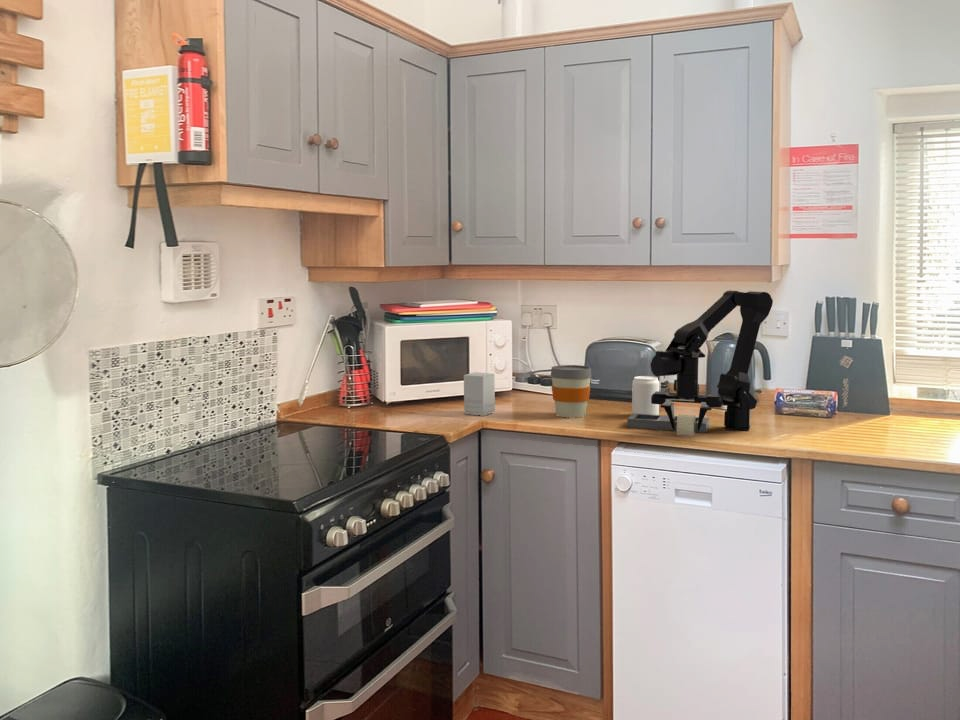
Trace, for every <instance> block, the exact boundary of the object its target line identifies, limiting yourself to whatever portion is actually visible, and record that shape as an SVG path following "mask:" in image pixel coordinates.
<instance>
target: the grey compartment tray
mask: <svg viewBox="0 0 960 720" xmlns="http://www.w3.org/2000/svg"><path fill="white" fill-rule="evenodd" d="M677 417H678V415H674V418H675V429H674V430H673V428H672V425H671V423H670V420H669V417H668V415H667V414H666V415H665V414H659V415H651V414H634V413H633V414H632V413H631V415H630V416H629V417H628V418H627V419H626V427H627V428H628V429H629V428H631V429H633V428H634V429H644V428H645V430H647V429H648V430H660V429H663V430H664V431H676V432H677ZM698 419H699V416H696V423H695V433H707V431H708V429H709V427H710V417H704V419H703V422H702V424H701V427H700V430H699V431H698ZM663 430H662V431H663Z"/></svg>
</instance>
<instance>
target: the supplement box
mask: <svg viewBox="0 0 960 720" xmlns="http://www.w3.org/2000/svg"><path fill="white" fill-rule="evenodd" d="M495 385H496V384H495V373H489V372H471V373H468V374H467V373H466V374H464V375H463V409H464V410H463V411H464V415H468V414H470V416H478V415H480V416H479V417H485V416H488V415H487V414H489V415H491V414H490V413H492V414H494V413H493V412H495V413H496V401H495V400H496V398H495V397H496V396H495V394H496V393H495V389H496V388H495ZM484 415H485V416H484Z"/></svg>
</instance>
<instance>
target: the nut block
mask: <svg viewBox="0 0 960 720" xmlns="http://www.w3.org/2000/svg"><path fill="white" fill-rule="evenodd" d="M677 416H678V417H677V431H676V435H677V436H685V435H686V436H687V437H688V436H690V437H694V436H695V434H696V432H695V423H696V417H697V416H696V415H695V414H678V415H677Z"/></svg>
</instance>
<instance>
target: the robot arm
mask: <svg viewBox="0 0 960 720" xmlns="http://www.w3.org/2000/svg"><path fill="white" fill-rule="evenodd" d="M773 303H774V300H773V298H772V296H771V294H770V293H769V292H768V291H756V290H755V291H752V290H751V291H750V290H749V291H746V292H743V291H739V290H731V289H729V290H727V291H725V292H724V293H723V294H722V296H721V297H720V298H719V299H717V300H716V302H714V303H713V304H712V305H711V306H710V307H708V308H707V309H706V311H704V312H703V313H702V314H701V315H700V316H699V317H698V318H696V319H695V320H694V321H691V322H688V323H686V324H684V325H683V326H681V327H680V328H678V329H677V330H676V331H675V332H674V334H673V338H672V340H671V341H670V343H669V344H668V346H667V348H666V349H665V351H662V350H656V351H655V355H653V357H652V359H651V361H650V371H651V373H652V375H654V377H667V376H676V379H673V391H674V392H676V395H675V394H674V395H673V394H669V392H668V391H660V390H659V391H656V392H655V393H654V394H653V395H652V396H651V404H659V405H660V408H663V409H664V410H665V413H666V415H668V417H669V420H670V423H671V425H672V428H673V430H672V431H675V430H674V429H675V418H674V416H675V410H674V409H675V407H674V406H675V405H674V404H675V403H689V404H700V407H699V413H698V417H699V419H698V431H699V430H700V427H701V424H702V422H703V419H704V418H705V415H706V414H707V411H711V410H712V409H713V408H722V407H723V406H726V410H725V411H724V416H723V418H724V421H723V422H724V423H723V425H724V427H725V429H726V430H737V431H739V430H740V431H750V430H751V410H752V409H756V406H757V403H758V401H757V400H756V398H755V397H754V396H753V394H752V393H750V391H751V381H750V378H749V370H750V366H751V363H752V362H751V361H752V357H753V354H754V350H755V346H756V342H757V338H758V335H759V331H760V327H761V325H762V323H763V322H764V320H766V319H767V318H768V316H769V315H770V312H771V310H772V307H773ZM737 307H739V312H740V316H741V320H742V321H741V326H740V330H739V333H738V337H737V340H736V345H735V348H734V352H733V356H732V360H731V364H730V368H729V370H728V371H727V372H726V373H720V376H719V381H718V384H717V386H716V388H717V394H716V393H715V394H714V393H708V394H706V396H700V385H699V358H701V359H702V358H706V353H703V352H702V351H701V347H702V346H703V345H704V344H705V342H707V340H708V337H709V333H710V332H711V331H712V330H713V329H714V328H715V327H716V326H717V325H718V324H719V323H720V322H722V321H723V320H724V319H725V318H726V317H727V316H728V315H729V314H730V313H731V312H732V311H734V309H735V308H737Z"/></svg>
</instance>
